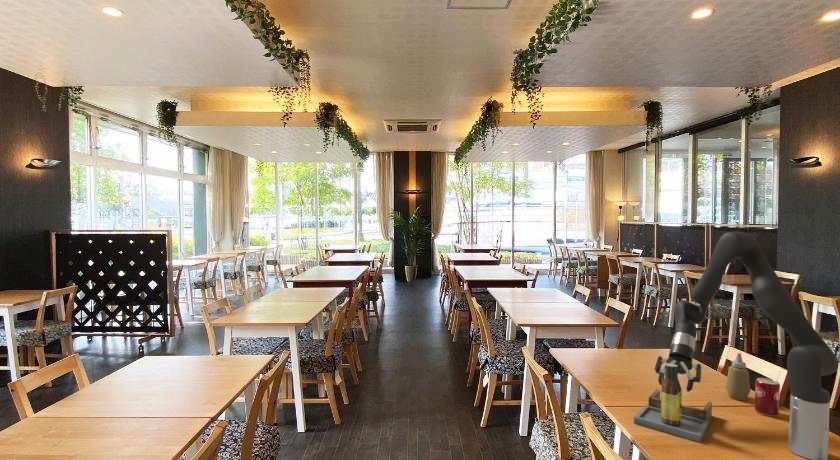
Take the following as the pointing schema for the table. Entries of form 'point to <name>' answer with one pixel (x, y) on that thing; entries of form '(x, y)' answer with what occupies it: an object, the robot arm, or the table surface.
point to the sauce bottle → (671, 396)
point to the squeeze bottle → (738, 379)
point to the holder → (684, 407)
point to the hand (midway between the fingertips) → (674, 387)
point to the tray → (686, 429)
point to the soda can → (767, 397)
